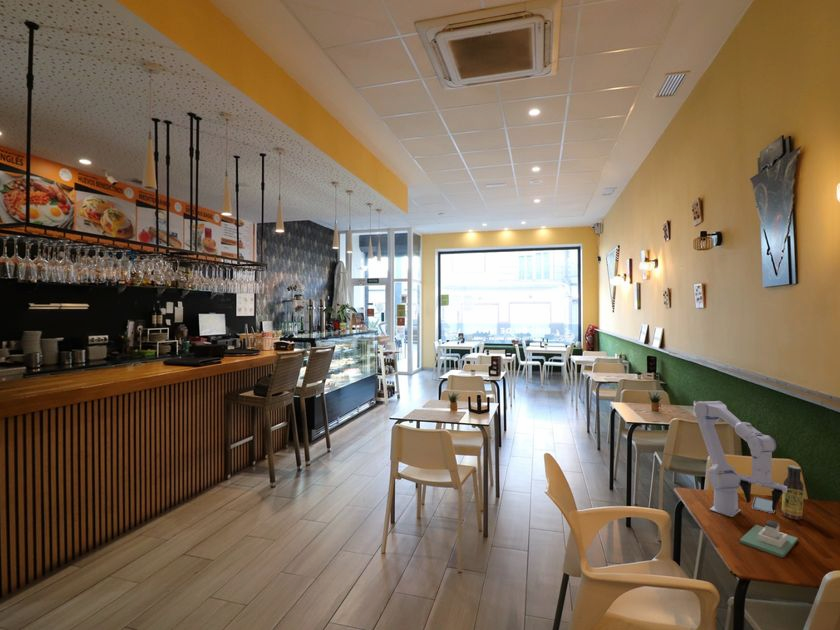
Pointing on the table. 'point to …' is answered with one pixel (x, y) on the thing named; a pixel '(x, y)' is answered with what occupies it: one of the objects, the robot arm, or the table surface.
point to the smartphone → (763, 505)
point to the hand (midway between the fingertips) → (761, 505)
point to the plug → (772, 529)
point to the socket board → (768, 541)
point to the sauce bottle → (793, 494)
